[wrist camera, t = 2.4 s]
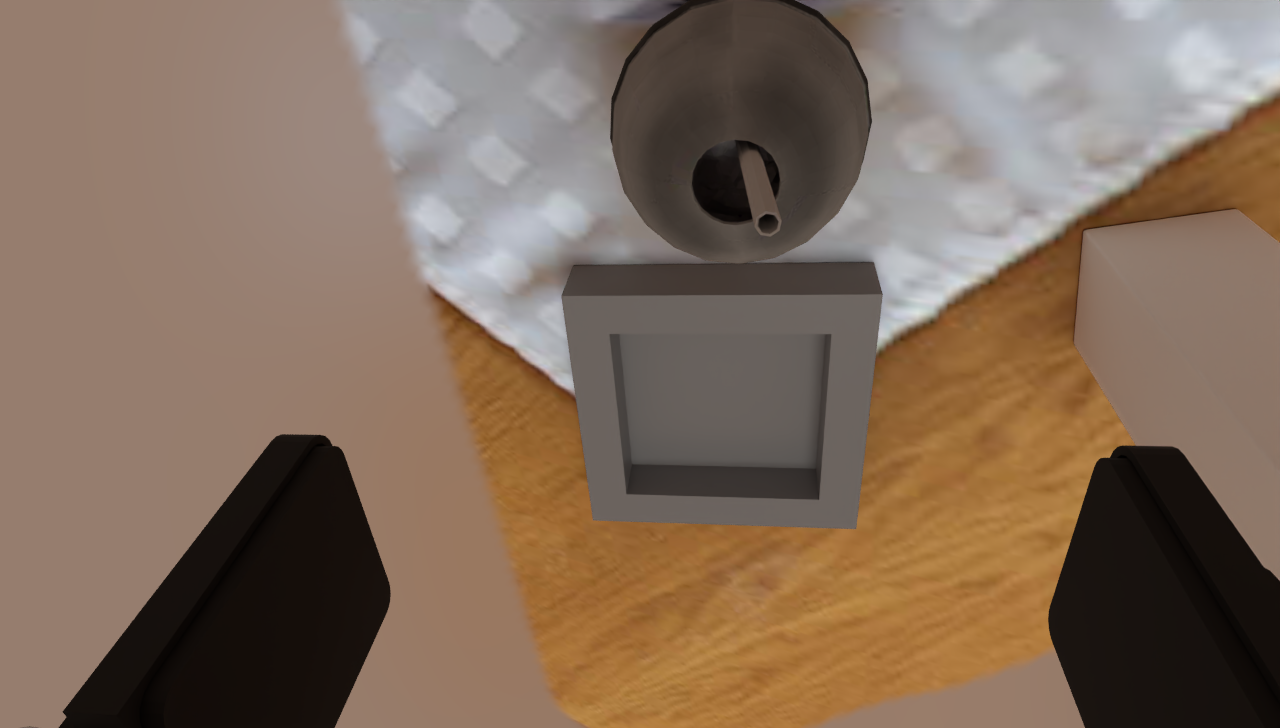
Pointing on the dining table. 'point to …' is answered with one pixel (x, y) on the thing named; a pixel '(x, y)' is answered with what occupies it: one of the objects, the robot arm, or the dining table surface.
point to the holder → (724, 390)
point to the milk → (1193, 352)
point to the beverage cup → (740, 127)
